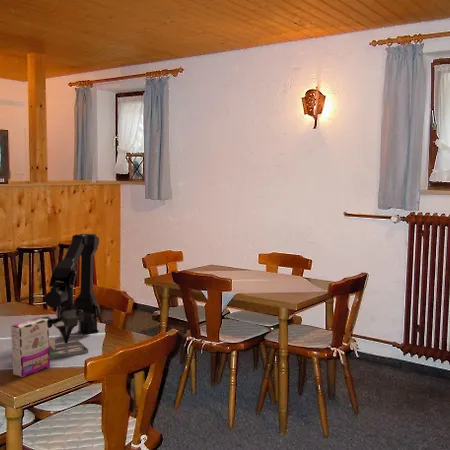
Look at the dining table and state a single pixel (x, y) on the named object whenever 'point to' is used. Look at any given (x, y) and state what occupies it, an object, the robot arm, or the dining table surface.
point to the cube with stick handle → (51, 343)
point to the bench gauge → (67, 349)
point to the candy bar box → (30, 346)
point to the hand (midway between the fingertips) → (65, 342)
